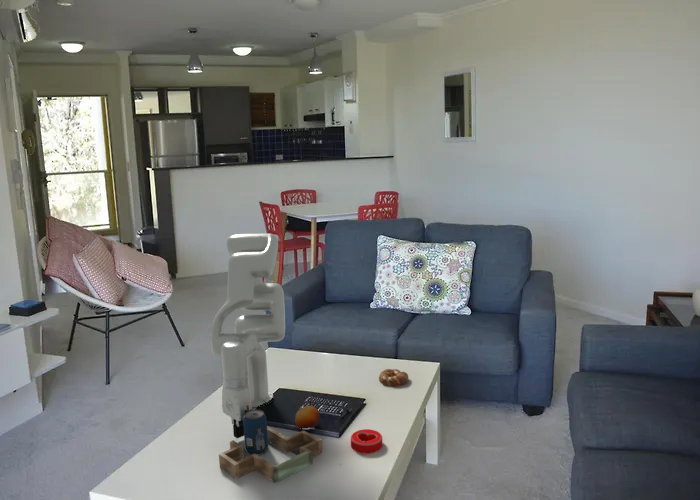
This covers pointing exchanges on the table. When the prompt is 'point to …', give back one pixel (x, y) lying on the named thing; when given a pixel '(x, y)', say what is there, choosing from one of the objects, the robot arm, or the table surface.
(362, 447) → the decorative ornament
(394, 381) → the pretzel
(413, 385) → the table surface
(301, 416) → the fruit
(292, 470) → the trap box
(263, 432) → the soda can
